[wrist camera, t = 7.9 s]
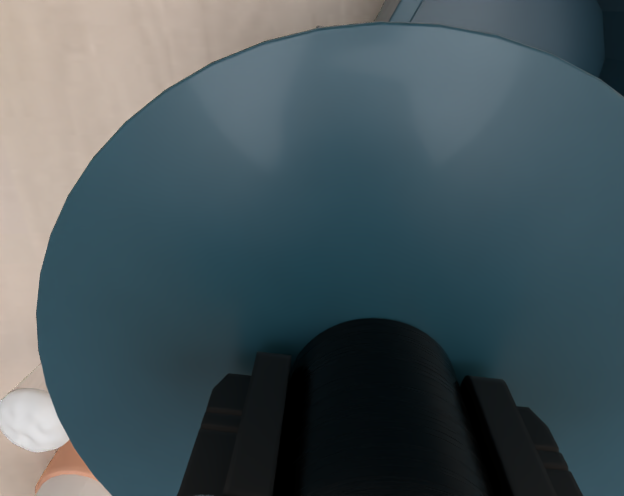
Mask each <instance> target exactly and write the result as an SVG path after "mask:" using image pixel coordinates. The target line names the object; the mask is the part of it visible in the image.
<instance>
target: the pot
mask: <svg viewBox="0 0 624 496" xmlns="http://www.w3.org/2000/svg"><path fill="white" fill-rule="evenodd" d="M376 21H383V22H407V23H432V24H442V25H447V26H453V27H458V28H463V29H469V30H474V31H479V32H485V33H490V34H495V35H499V36H502V37H505V38H508V39H511V40H514V41H517V42H520V43H522V44H525V45H528V46H531V47H534V48H537V49H540V50H543V51H546V52H548V53H551V54H553V55H555V56H557V57H559V58H561V59H563V60H565V61H567V62H569V63H570V64H572V65H574V66H576V67H578V68H580V69H582V70H584V71H586V72H588V73H589V74H591V75H593V76H595V77H597V78H599V79H601V80H602V81H603V82H605V83H606V84H607V85H609V86H610V87H611V88H613V89H614V90H615V91H617V92H618V93H619V94H621V95H622V96H623V97H624V0H385V1H384V3H383V5H382V7H381V9H380V11H379V13H378V15H377V17H376V19H375V20H374V22H376ZM319 27H324V26H317V27H316V28H319Z"/></svg>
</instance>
